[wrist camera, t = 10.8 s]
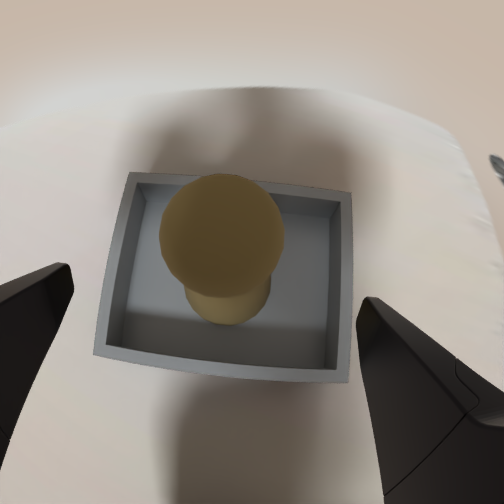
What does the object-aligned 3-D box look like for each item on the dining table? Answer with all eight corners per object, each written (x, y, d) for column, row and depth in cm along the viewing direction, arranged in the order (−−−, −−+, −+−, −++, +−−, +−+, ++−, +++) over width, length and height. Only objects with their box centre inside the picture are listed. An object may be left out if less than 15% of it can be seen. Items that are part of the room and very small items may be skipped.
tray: (337, 213, 25) (351, 192, 22) (331, 379, 21) (347, 383, 18) (141, 194, 25) (129, 172, 21) (112, 355, 21) (92, 354, 18)
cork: (172, 257, 23) (124, 181, 12) (251, 228, 24) (263, 133, 13) (201, 339, 21) (168, 326, 11) (284, 306, 22) (329, 263, 12)
